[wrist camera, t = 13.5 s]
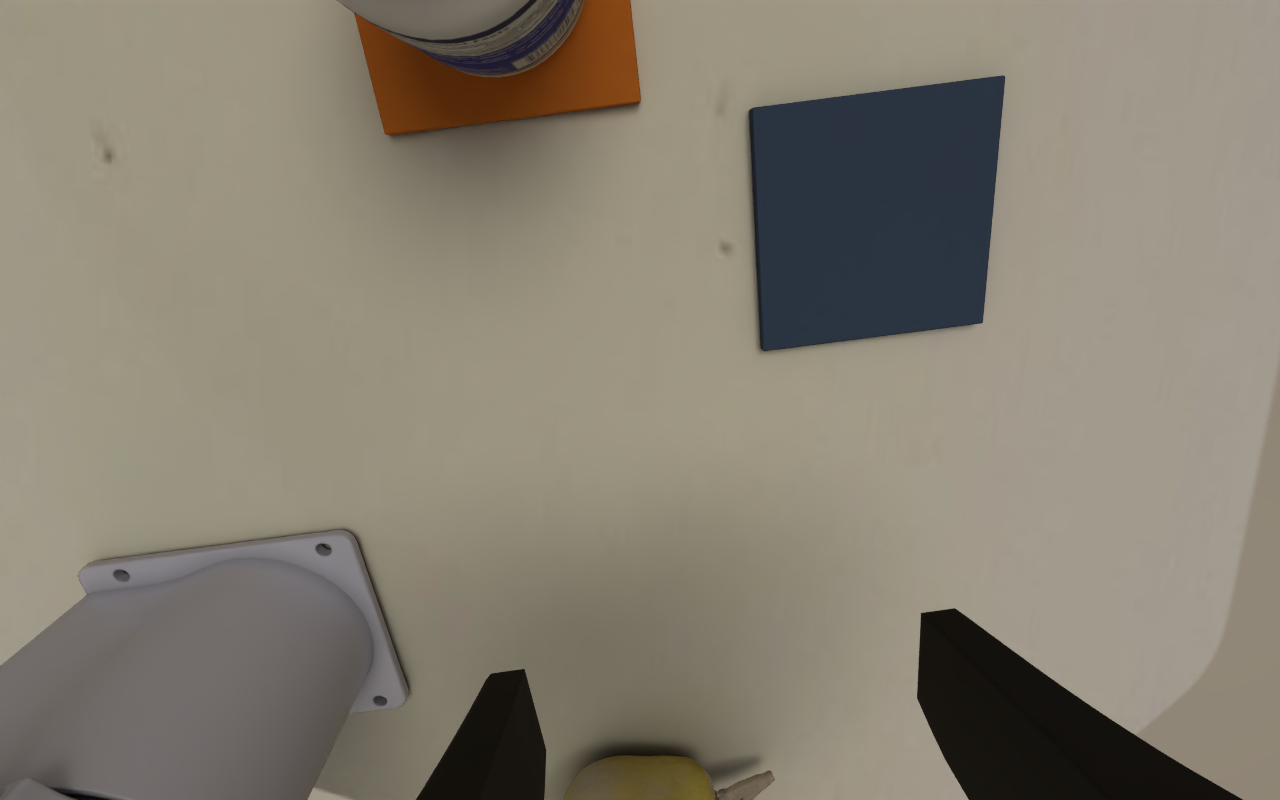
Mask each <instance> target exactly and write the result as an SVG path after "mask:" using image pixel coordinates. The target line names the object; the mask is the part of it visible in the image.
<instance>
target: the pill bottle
mask: <svg viewBox="0 0 1280 800" xmlns="http://www.w3.org/2000/svg"><path fill="white" fill-rule="evenodd" d="M337 1H338V2H340V3H341V4H342V5H344V6H345V7H347V8H348V9H350V10H351V11H353V12H354V13H355V14H357V15H359V16H360V17H362V18H364V19H365V20H367V21H368V22H370V23H371V24H373V25H375V26H377V27H378V28H380V29H382V30H384V31H385V32H388V33H389V34H391V35H393V36H394V37H396V38H398V39H400V40H402V41H404V42H406V43H407V44H409V45H411V46H413V47H415V48H416V49H418V50H420V51H422V52H423V53H425V54H427V55H429V56H430V57H432V58H434V59H435V60H437V61H439V62H441V63H443V64H445V65H446V66H448V67H451V68H453V69H455V70H458V71H461V72H464V73H467V74H471V75H475V76H482V77H503V76H510V75H515V74H518V73H521V72H524V71H527V70H529V69H531V68H533V67H535V66H537V65H538V64H540V63H541V62H543V61H545V60H546V59H547V58H548V57H550V56H551V55H552V54H553V53H554V52H555V51H556V50H557V49H558V48H559V47H560V46H561V45H562V44H563V42H564V41H565V40H566V38H567V37H568V36H569V34H570V33H571V31H572V29H573V28H574V26H575V24H576V22H577V20H578V18H579V16H580V13H581V11H582V8H583V4H584V1H585V0H337Z"/></svg>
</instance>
